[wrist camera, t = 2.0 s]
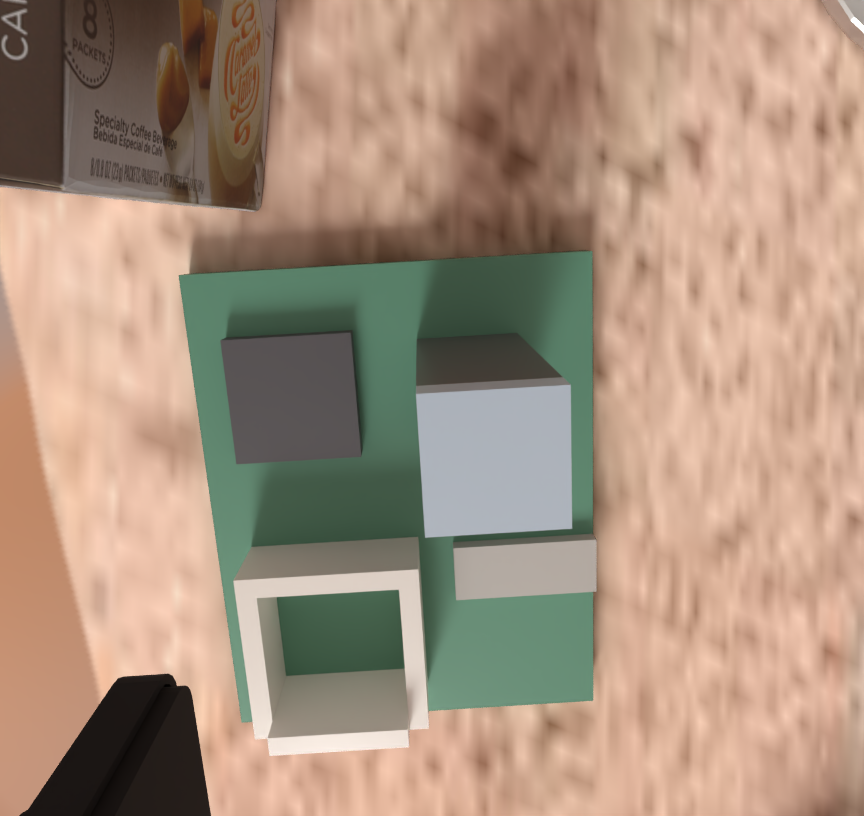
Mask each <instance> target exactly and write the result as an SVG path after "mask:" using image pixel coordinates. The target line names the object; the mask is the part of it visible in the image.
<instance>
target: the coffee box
mask: <svg viewBox="0 0 864 816" xmlns="http://www.w3.org/2000/svg"><path fill="white" fill-rule="evenodd" d="M275 10H276V0H0V187H7V188H16V189H26V190H36V191H46V192H55V193H65V194H75V195H86V196H93V197H101V198H110V199H123V200H134V201H143V202H153V203H164V204H175V205H183V206H193V207H208V208H220V209H232V210H242V211H252V212H255V211H257V210H259V208H260V207H261V201H262V190H263V179H264V166H265V151H266V137H267V124H268V111H269V96H270V82H271V68H272V54H273V39H274V25H275Z"/></svg>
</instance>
